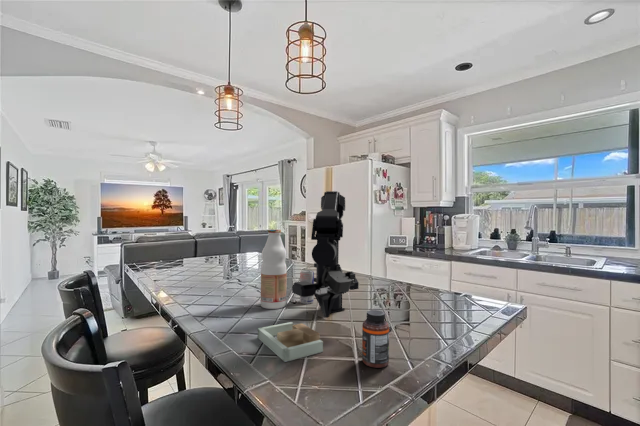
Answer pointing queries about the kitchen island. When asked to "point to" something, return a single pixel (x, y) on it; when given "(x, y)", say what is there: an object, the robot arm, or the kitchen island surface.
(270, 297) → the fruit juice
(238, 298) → the kitchen island surface
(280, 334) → the t block
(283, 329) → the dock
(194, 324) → the kitchen island surface
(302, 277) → the energy drink
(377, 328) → the supplement bottle
